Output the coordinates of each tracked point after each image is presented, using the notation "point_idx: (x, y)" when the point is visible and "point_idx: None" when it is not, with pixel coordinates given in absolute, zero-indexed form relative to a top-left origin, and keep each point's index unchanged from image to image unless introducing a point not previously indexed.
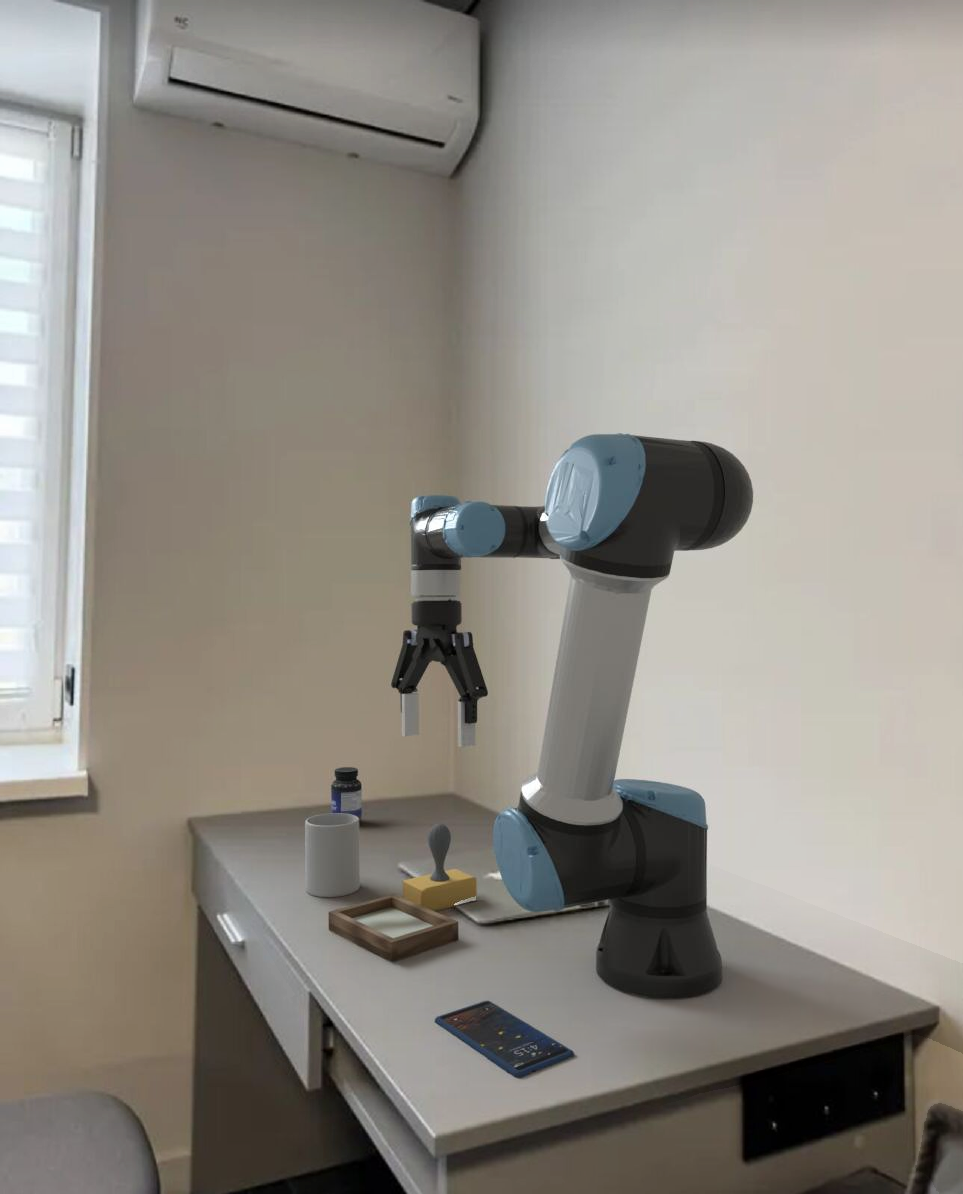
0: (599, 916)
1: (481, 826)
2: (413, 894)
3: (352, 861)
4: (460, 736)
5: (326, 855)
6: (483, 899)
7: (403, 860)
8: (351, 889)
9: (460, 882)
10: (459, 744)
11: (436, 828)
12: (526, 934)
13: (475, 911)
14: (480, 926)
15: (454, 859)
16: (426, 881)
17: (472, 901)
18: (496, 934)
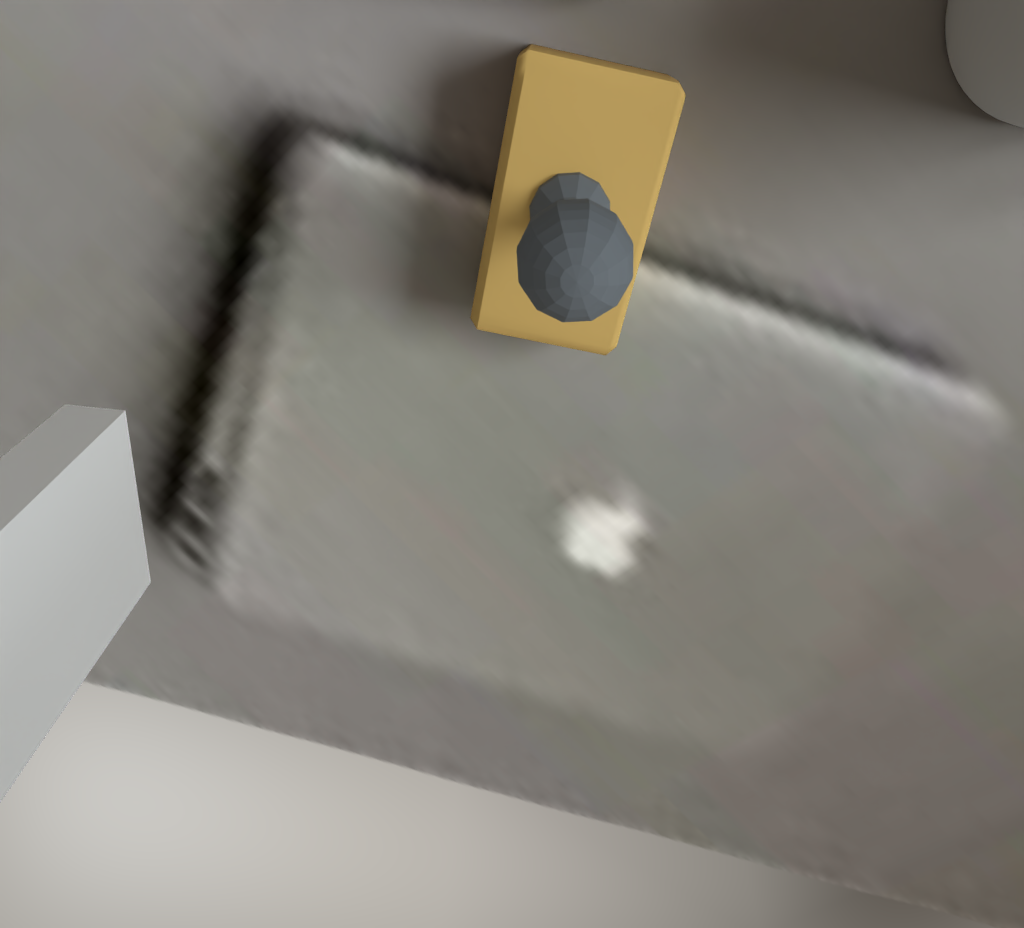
0: None
1: (977, 827)
2: (588, 59)
3: (1013, 19)
4: (7, 461)
5: None
6: (472, 324)
7: (1008, 446)
8: (951, 7)
9: (485, 249)
10: (84, 416)
11: (563, 241)
12: (115, 164)
13: (403, 214)
14: (275, 109)
15: (841, 558)
16: (586, 146)
17: None
18: (176, 88)
